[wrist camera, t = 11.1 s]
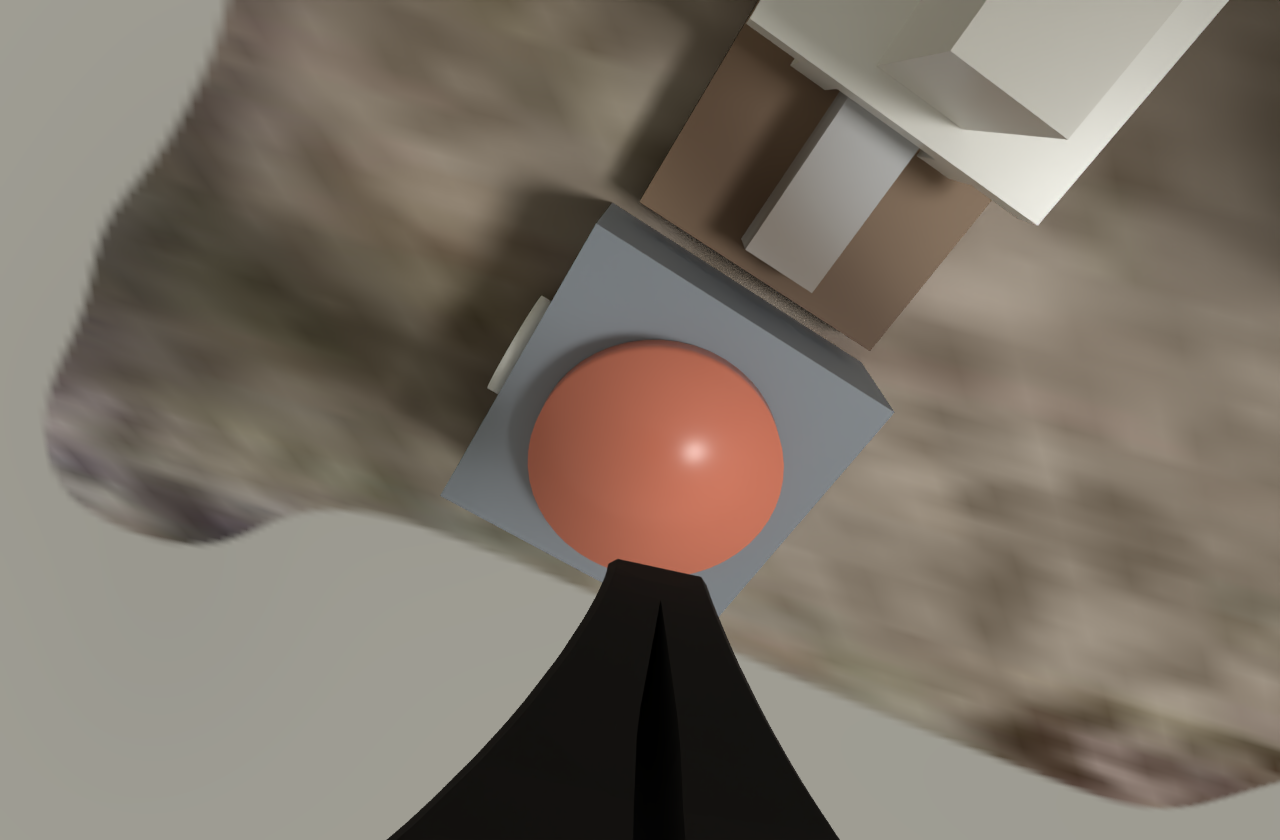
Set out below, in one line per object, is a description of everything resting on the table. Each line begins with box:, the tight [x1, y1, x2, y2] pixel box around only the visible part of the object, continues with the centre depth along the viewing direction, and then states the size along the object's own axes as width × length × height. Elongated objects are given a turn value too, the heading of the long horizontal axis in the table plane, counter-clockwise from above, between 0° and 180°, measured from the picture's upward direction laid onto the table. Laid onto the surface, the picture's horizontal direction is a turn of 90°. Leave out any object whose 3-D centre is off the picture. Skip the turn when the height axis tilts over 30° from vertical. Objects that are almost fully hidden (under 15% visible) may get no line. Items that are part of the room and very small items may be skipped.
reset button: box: [528, 340, 784, 574], centre depth 16 cm, size 5×5×3 cm
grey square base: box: [440, 203, 894, 617], centre depth 16 cm, size 7×7×3 cm
